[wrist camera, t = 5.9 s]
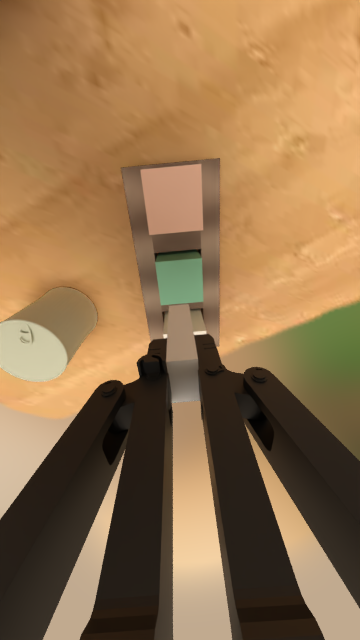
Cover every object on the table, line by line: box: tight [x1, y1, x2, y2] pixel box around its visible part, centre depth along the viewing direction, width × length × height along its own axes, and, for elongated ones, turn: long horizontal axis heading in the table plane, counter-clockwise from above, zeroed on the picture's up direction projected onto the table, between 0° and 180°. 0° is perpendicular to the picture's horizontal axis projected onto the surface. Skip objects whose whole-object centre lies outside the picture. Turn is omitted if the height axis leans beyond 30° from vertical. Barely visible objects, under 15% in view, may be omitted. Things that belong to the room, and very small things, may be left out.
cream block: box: [163, 308, 206, 338], centre depth 31 cm, size 5×5×7 cm
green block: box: [155, 249, 203, 305], centre depth 29 cm, size 5×5×7 cm
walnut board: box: [121, 158, 220, 347], centre depth 31 cm, size 25×11×4 cm, turn 5°
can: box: [0, 287, 98, 382], centre depth 30 cm, size 9×9×12 cm
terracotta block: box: [140, 164, 203, 235], centre depth 23 cm, size 5×5×7 cm
